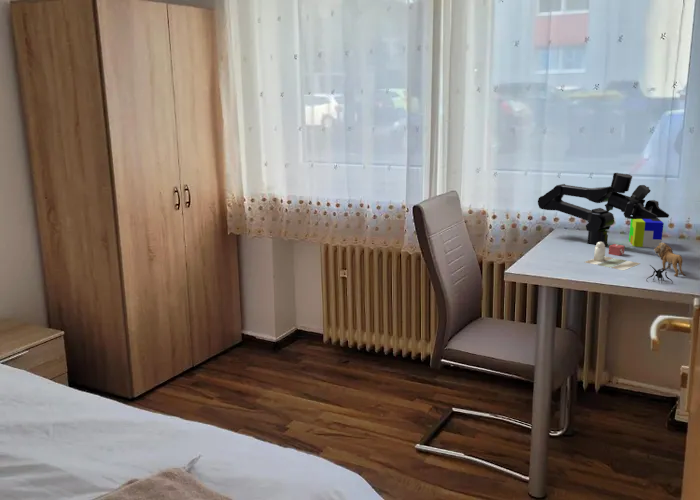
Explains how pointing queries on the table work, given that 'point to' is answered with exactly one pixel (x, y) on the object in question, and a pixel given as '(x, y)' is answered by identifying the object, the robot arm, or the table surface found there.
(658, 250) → the lion figurine
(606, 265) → the board
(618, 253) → the die
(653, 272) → the creature
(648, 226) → the puzzle toy
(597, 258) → the pawn
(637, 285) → the table surface
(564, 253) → the table surface
